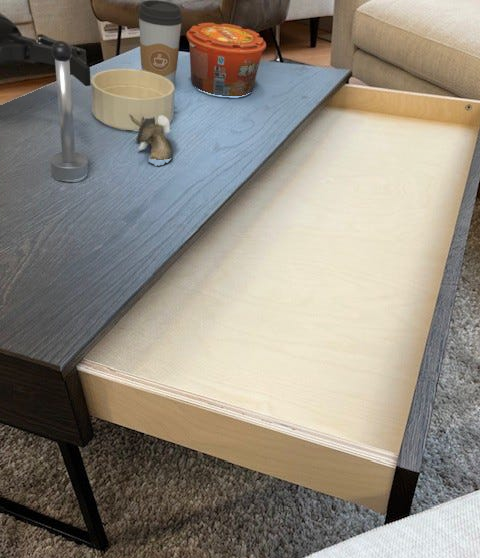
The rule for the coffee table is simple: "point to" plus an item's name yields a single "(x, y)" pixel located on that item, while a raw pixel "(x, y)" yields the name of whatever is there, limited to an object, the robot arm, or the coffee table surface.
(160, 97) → the bowl
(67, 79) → the ball-top lever stand
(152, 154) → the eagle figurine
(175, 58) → the coffee cup
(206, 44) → the food container
